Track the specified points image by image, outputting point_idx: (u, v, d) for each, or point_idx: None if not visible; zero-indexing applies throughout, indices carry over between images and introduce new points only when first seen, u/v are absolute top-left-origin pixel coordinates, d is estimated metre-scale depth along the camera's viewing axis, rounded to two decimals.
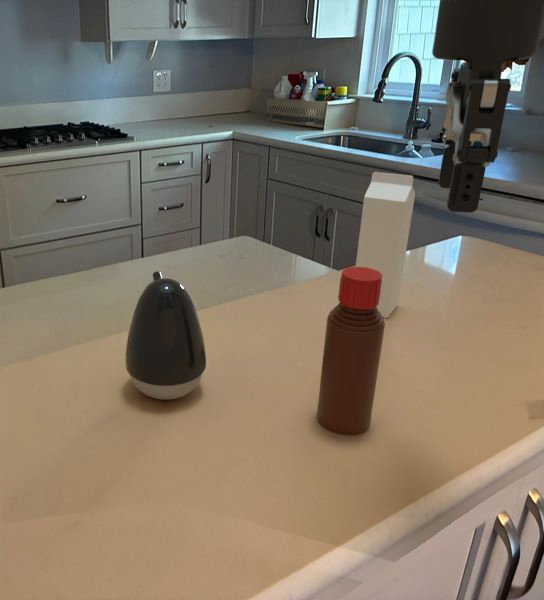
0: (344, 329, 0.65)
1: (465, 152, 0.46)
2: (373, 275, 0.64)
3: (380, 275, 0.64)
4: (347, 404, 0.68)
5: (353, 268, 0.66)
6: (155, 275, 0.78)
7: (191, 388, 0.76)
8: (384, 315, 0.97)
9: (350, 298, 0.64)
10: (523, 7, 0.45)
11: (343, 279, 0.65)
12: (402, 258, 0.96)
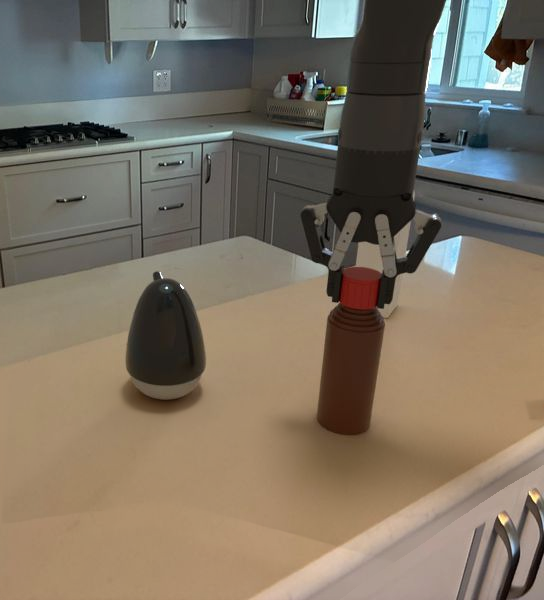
0: (344, 329, 0.65)
1: None
2: (373, 275, 0.64)
3: (380, 275, 0.64)
4: (347, 404, 0.68)
5: (353, 268, 0.66)
6: (155, 275, 0.78)
7: (191, 388, 0.76)
8: (384, 315, 0.97)
9: (350, 298, 0.64)
10: None
11: (343, 279, 0.65)
12: None
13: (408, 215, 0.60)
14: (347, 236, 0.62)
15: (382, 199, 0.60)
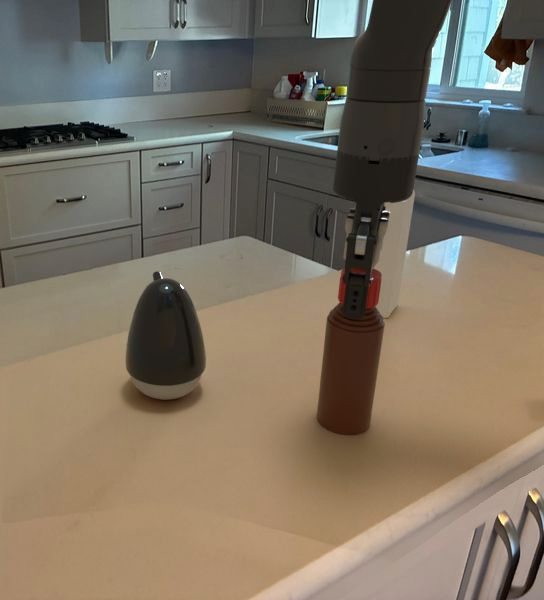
0: (344, 329, 0.65)
1: None
2: None
3: None
4: (347, 404, 0.68)
5: None
6: (155, 275, 0.78)
7: (191, 388, 0.76)
8: (384, 315, 0.97)
9: (377, 296, 0.64)
10: None
11: None
12: (402, 258, 0.96)
13: (382, 207, 0.65)
14: (381, 245, 0.61)
15: None
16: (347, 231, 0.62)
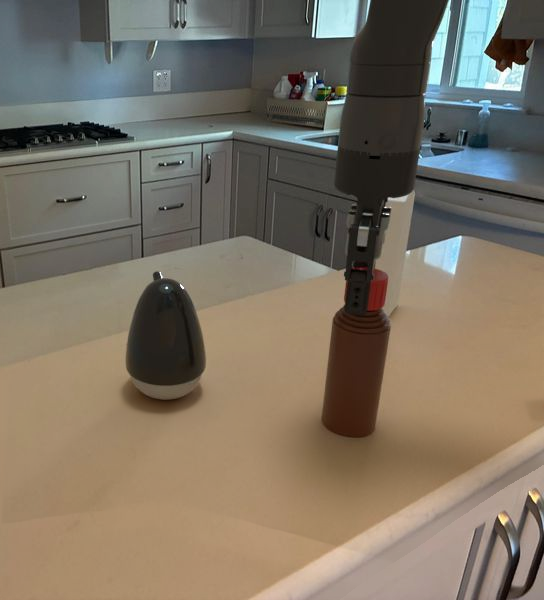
0: (350, 331, 0.65)
1: None
2: None
3: None
4: (353, 406, 0.68)
5: None
6: (155, 275, 0.78)
7: (191, 388, 0.76)
8: None
9: (383, 298, 0.64)
10: None
11: (376, 285, 0.63)
12: (402, 258, 0.96)
13: None
14: (383, 241, 0.61)
15: None
16: (349, 226, 0.61)
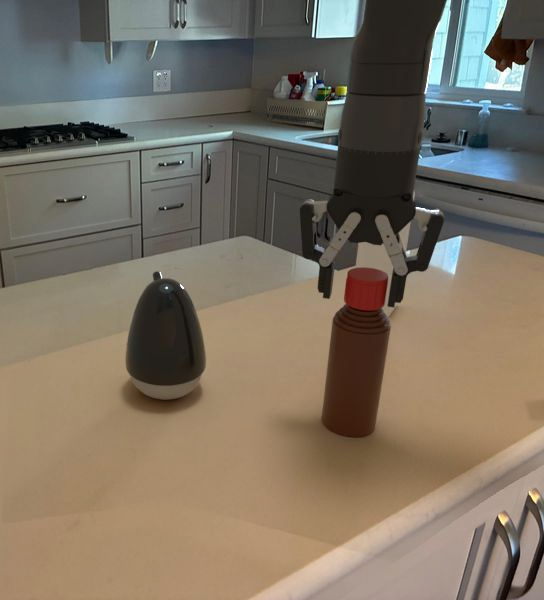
0: (350, 331, 0.65)
1: None
2: (370, 270, 0.65)
3: (368, 268, 0.66)
4: (353, 406, 0.68)
5: (353, 275, 0.64)
6: (155, 275, 0.78)
7: (191, 388, 0.76)
8: None
9: (383, 298, 0.64)
10: None
11: (376, 285, 0.63)
12: None
13: (408, 215, 0.60)
14: (347, 236, 0.62)
15: (382, 199, 0.60)
16: None
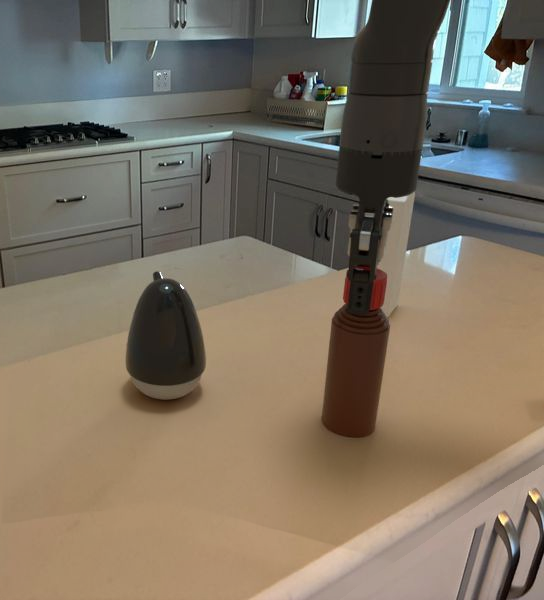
0: (349, 331, 0.65)
1: None
2: None
3: None
4: (353, 406, 0.68)
5: None
6: (155, 275, 0.78)
7: (191, 388, 0.76)
8: None
9: None
10: None
11: None
12: (402, 258, 0.96)
13: None
14: (385, 241, 0.61)
15: None
16: (351, 227, 0.61)
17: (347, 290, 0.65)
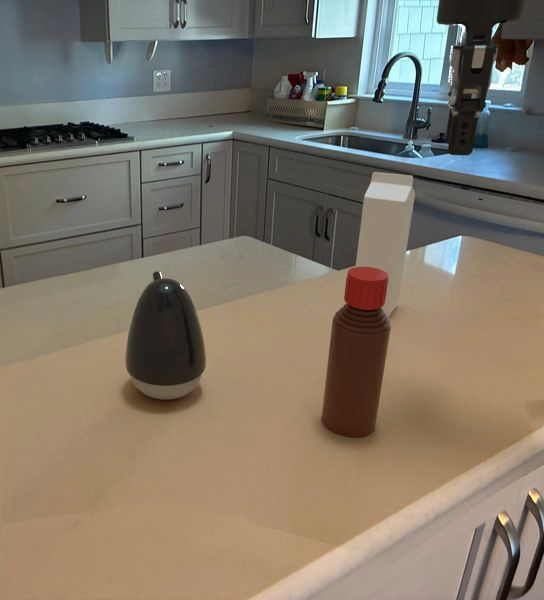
0: (350, 331, 0.65)
1: None
2: (356, 271, 0.65)
3: (349, 271, 0.65)
4: (353, 406, 0.68)
5: (377, 278, 0.63)
6: (155, 275, 0.78)
7: (191, 388, 0.76)
8: None
9: None
10: None
11: None
12: (402, 258, 0.96)
13: None
14: None
15: None
16: (454, 60, 0.60)
17: (348, 290, 0.65)
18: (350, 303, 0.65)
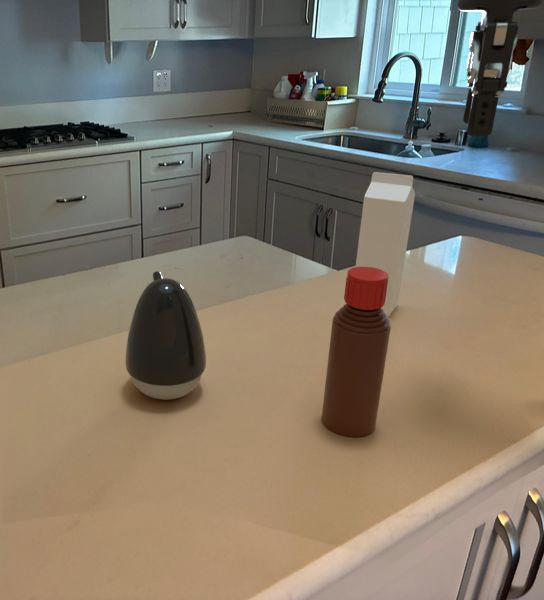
0: (350, 331, 0.65)
1: None
2: (356, 271, 0.65)
3: (349, 271, 0.65)
4: (353, 406, 0.68)
5: (377, 278, 0.63)
6: (155, 275, 0.78)
7: (191, 388, 0.76)
8: None
9: None
10: None
11: None
12: (402, 258, 0.96)
13: None
14: None
15: None
16: (475, 43, 0.60)
17: (348, 290, 0.65)
18: (350, 303, 0.65)
